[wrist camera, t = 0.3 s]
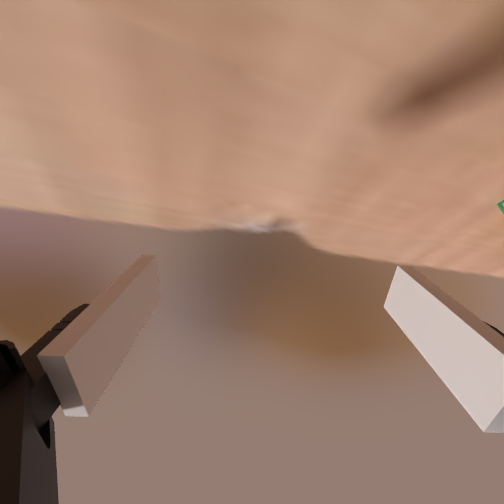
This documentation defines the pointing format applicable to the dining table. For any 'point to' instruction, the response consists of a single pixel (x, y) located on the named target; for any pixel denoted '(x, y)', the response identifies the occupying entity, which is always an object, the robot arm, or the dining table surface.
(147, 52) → the dining table surface
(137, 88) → the dining table surface
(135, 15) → the dining table surface
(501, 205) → the stack of blocks
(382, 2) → the dining table surface
